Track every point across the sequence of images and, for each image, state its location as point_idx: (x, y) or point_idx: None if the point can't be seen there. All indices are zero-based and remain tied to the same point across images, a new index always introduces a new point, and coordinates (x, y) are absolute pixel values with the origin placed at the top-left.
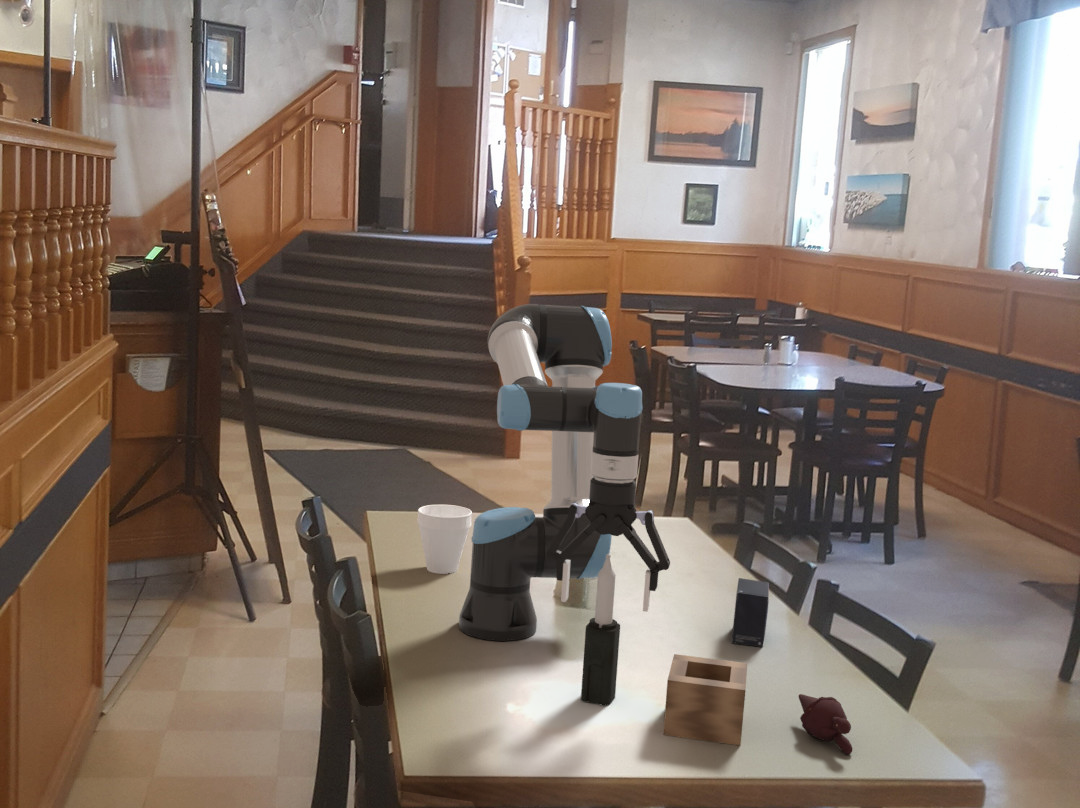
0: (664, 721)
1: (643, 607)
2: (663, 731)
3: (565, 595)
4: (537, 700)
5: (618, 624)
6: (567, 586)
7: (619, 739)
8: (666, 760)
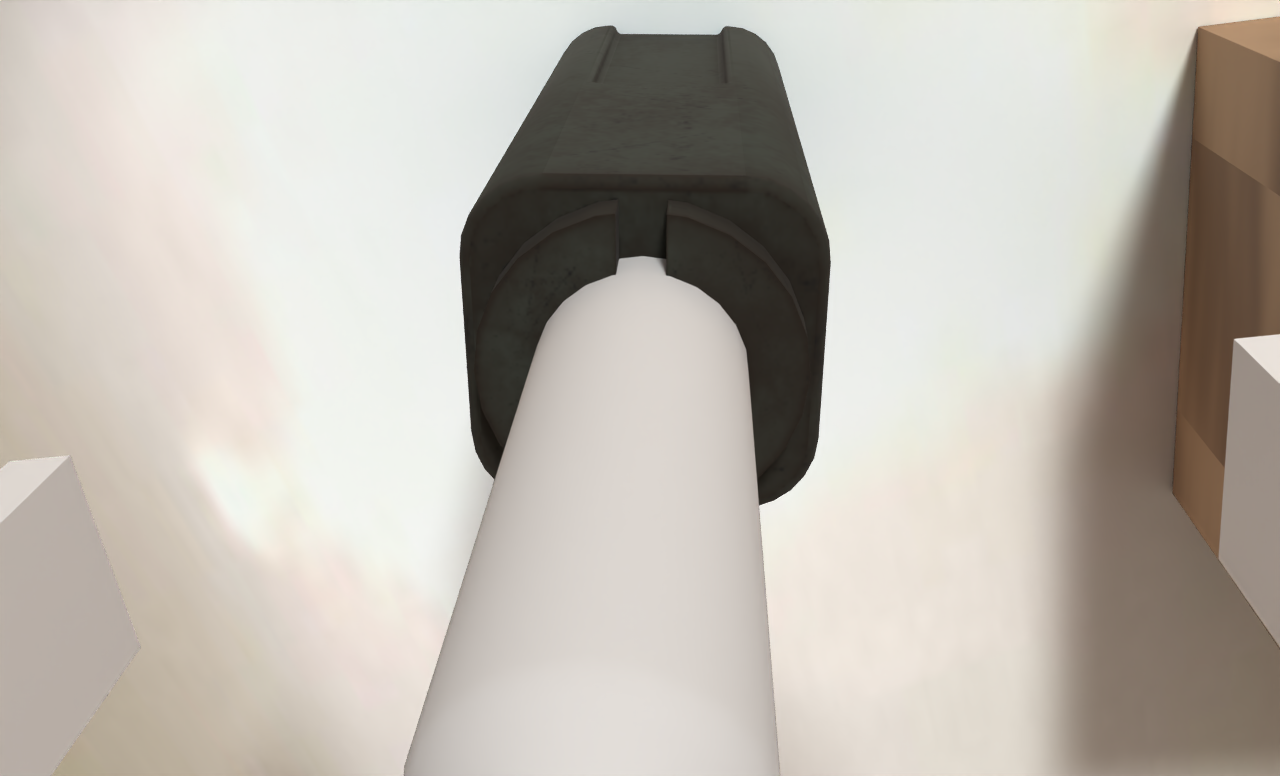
0: (1205, 538)
1: (1247, 589)
2: (1179, 502)
3: (93, 703)
4: (323, 343)
5: (805, 244)
6: (9, 695)
7: (931, 632)
8: (1204, 751)
